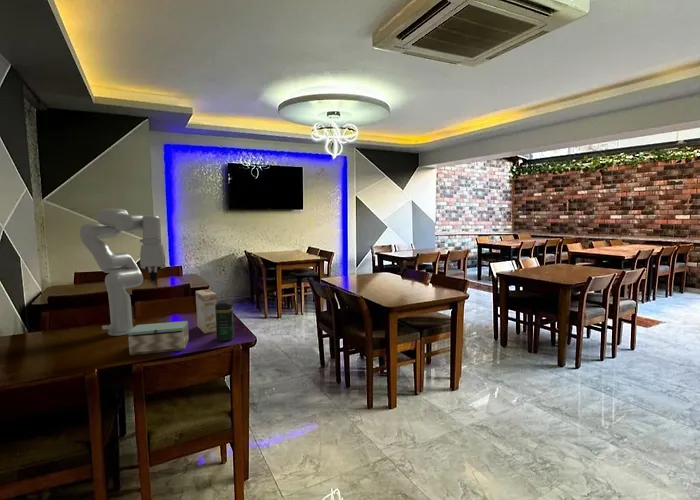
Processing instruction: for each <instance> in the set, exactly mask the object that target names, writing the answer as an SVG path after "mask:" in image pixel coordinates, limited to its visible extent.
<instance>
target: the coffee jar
mask: <svg viewBox="0 0 700 500" xmlns="http://www.w3.org/2000/svg"><path fill="white" fill-rule="evenodd" d="M215 313H216V332H215V333H216V341H220V342H227V341H232V340H233V339H234V336H235V330H234V325H235V324H234V304H233V301H232V300H230V299H221V300H219V301H218V302H217V303H216V305H215Z"/></svg>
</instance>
